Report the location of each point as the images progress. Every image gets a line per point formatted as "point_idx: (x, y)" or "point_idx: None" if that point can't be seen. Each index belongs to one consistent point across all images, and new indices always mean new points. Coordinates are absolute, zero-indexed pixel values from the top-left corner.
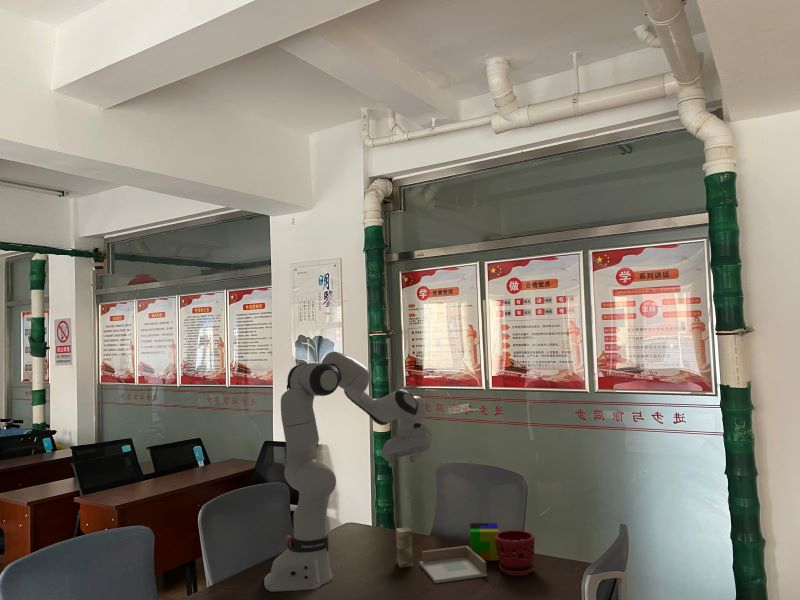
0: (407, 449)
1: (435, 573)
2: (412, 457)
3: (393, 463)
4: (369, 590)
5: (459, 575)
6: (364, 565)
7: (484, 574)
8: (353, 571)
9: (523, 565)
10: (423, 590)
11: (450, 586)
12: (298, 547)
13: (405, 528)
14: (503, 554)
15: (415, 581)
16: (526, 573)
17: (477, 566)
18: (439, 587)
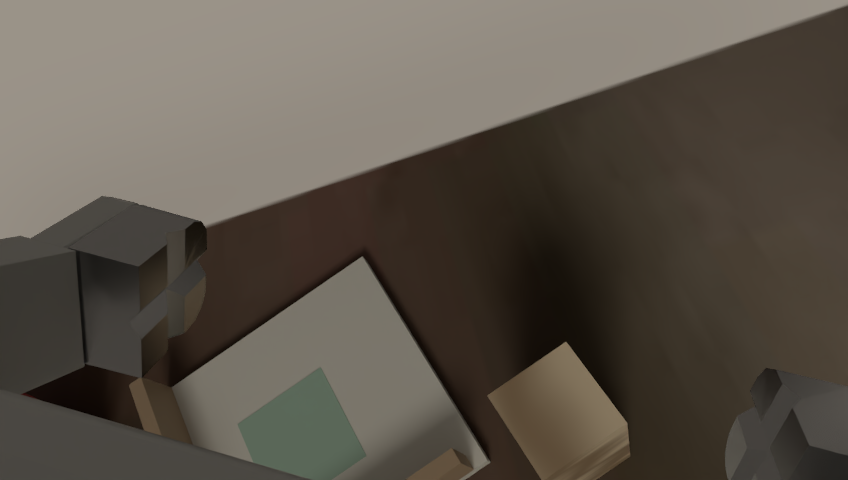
0: (119, 429)
1: (373, 325)
2: (104, 215)
3: (766, 467)
4: (617, 111)
5: (268, 335)
6: (809, 369)
7: (172, 390)
8: (820, 270)
9: None
10: (399, 184)
11: (303, 252)
12: None
13: (551, 442)
14: (29, 396)
15: (453, 253)
16: None
17: None
18: (343, 230)
